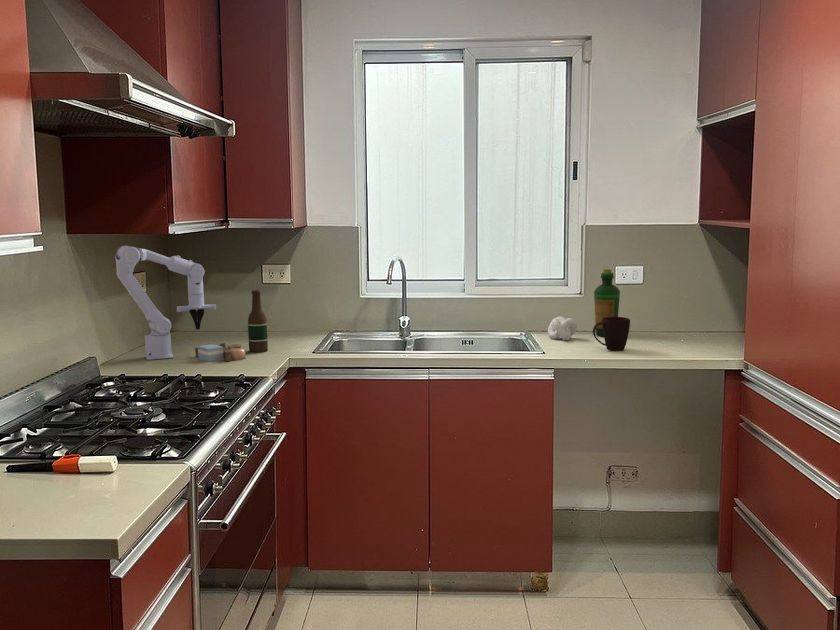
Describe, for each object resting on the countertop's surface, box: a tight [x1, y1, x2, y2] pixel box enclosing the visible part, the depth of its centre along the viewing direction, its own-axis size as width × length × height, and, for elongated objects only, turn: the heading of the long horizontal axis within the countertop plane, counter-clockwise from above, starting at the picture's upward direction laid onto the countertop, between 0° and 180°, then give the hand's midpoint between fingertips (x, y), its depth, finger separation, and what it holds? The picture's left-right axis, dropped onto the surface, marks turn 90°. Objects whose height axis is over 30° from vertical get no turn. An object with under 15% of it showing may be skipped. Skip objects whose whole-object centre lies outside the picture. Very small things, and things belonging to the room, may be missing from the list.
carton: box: [197, 343, 225, 363], centre depth 300 cm, size 6×8×5 cm
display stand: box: [194, 342, 232, 363], centre depth 300 cm, size 11×16×4 cm
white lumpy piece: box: [547, 316, 578, 342], centre depth 333 cm, size 11×12×9 cm
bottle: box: [593, 268, 621, 338], centre depth 337 cm, size 11×11×28 cm
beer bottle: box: [247, 289, 269, 354], centre depth 314 cm, size 8×8×24 cm
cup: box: [592, 316, 631, 352], centre depth 307 cm, size 10×14×12 cm
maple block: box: [226, 343, 242, 350], centre depth 307 cm, size 4×4×4 cm
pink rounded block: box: [229, 347, 246, 361], centre depth 300 cm, size 6×6×4 cm
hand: (197, 329), depth 312 cm, fingers closed
